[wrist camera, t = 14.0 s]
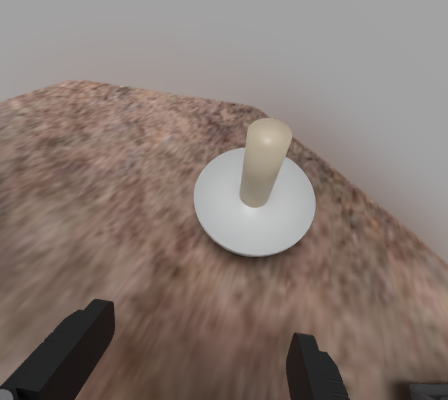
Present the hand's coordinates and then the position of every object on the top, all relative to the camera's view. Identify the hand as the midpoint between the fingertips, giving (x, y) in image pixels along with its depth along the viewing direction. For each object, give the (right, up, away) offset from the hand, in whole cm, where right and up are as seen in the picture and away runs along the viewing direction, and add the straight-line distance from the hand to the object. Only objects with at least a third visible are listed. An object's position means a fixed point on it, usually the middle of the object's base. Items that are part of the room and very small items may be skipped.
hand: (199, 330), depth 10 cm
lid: (+4, +6, +15) cm, 17 cm away
